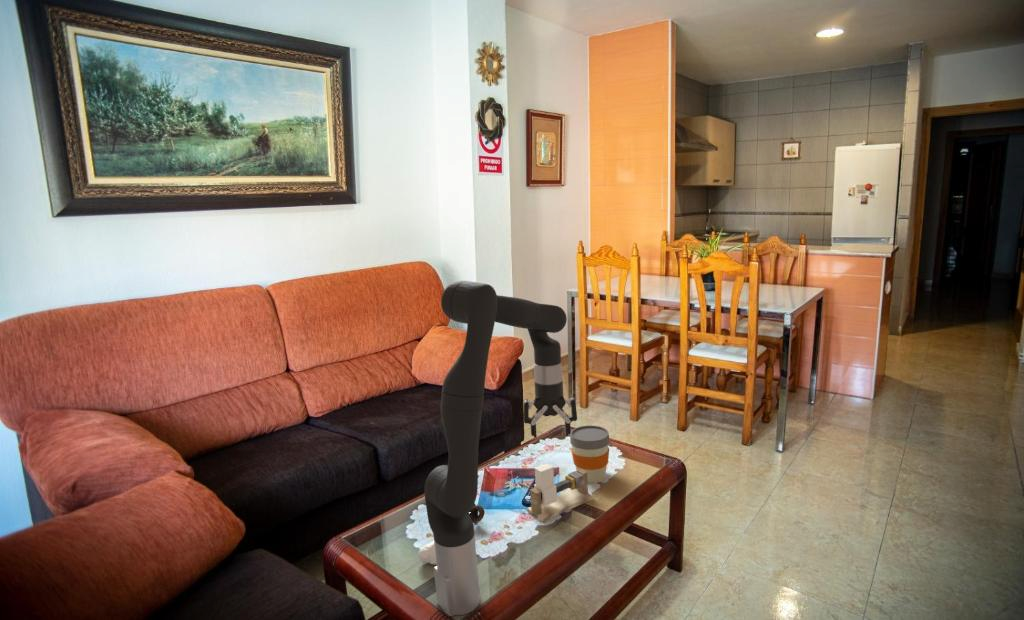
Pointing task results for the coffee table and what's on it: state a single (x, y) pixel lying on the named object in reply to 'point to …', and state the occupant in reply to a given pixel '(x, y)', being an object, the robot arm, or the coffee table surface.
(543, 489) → the cream upright block
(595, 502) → the coffee table surface
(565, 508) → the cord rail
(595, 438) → the reusable coffee cup
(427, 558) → the duck figurine
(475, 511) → the pottery mug
